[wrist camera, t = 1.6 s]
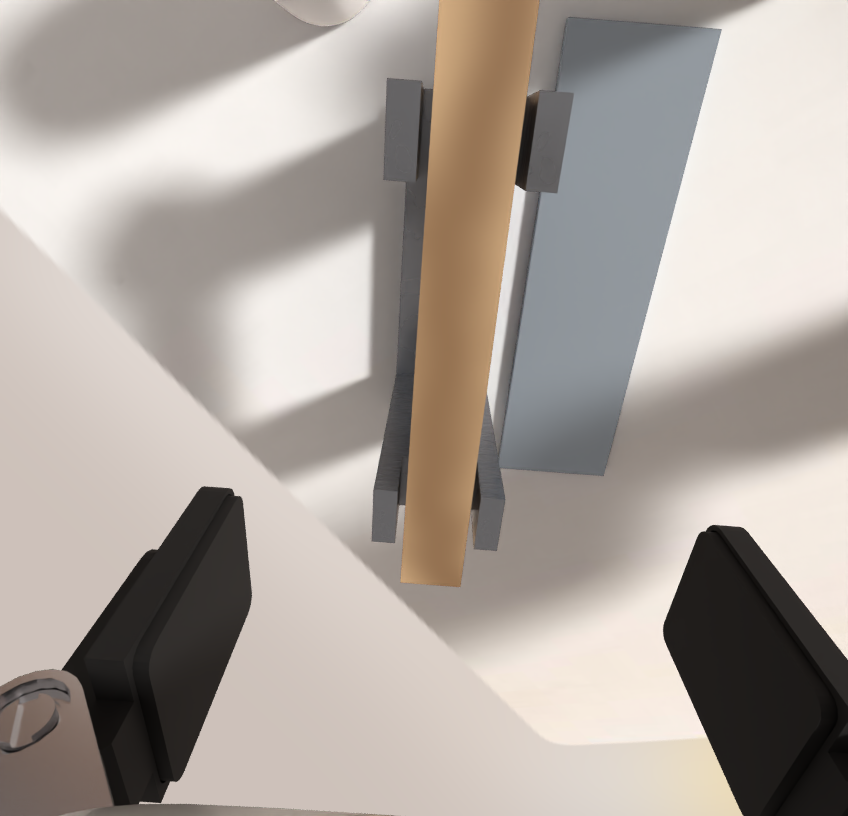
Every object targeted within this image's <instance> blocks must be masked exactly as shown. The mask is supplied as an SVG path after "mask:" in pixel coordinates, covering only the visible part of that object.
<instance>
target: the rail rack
mask: <svg viewBox="0 0 848 816" xmlns="http://www.w3.org/2000/svg"><path fill="white" fill-rule="evenodd" d="M573 98H574V93H570V92H557V91H544V90H539V91H537V92H535V93H533V94H531V95H529V96H527V97H526V105H525V112H524V119H523V127H522V134H521V142H520V149H519V156H518V164H517V171H516V179H515V185H517V186H519V187H520V188H522V189H523V190H525V191H533V192H546V193H557V192H558V186H559V181H560V175H561V169H562V163H563V157H564V151H565V145H566V139H567V133H568V127H569V122H570V116H571V110H572V104H573ZM432 103H433V89H424V86H423V84H422V81H417V80H404V79H391V78H387V96H386V126H385V156H384V180H392V181H405V182H406V196H405V216H404V236H403V256H402V276H401V295H400V315H399V335H398V355H397V374H396V379H395V384H394V389H393V394H392V399H391V404H390V409H389V414H388V419H387V424H386V429H385V434H384V439H383V444H382V449H381V455H380V460H379V465H378V470H377V475H376V480H375V485H374V490H373V520H372V541H374V542H387V543H395V537H396V528H397V520H398V511H399V505H406V492H407V477H408V462H409V447H410V432H411V417H412V402H413V387H414V373H415V358H416V343H417V328H418V313H419V298H420V283H421V268H422V253H423V238H424V223H425V208H426V193H427V178H428V163H429V148H430V133H431V118H432ZM504 505H505V495H504V489H503V484H502V478H501V472H500V466H499V460H498V455H497V449H496V443H495V437H494V431H493V425H492V420H491V414H490V408H489V402H488V396H487V393H486V400H485V408H484V415H483V423H482V430H481V437H480V445H479V452H478V460H477V467H476V474H475V482H474V489H473V497H472V504H471V518H472V532H473V545H474V549H479V550H492V551H497V546H498V540H499V534H500V528H501V522H502V517H503V511H504Z"/></svg>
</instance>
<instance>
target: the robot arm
mask: <svg viewBox="0 0 848 816" xmlns="http://www.w3.org/2000/svg"><path fill="white" fill-rule="evenodd" d="M251 598H252V591H251V580H250V571H249V561H248V550H247V539H246V529H245V519H244V509H243V501H242V498H241V497H240V496H234V492H233V490H232V489H230V488H218V487H205V486H204V487H201V488H200V489H199V491H198V492H197V493H196V495H195V496H194V498H193V499H192V501H191V502H190V504H189V505H188V507H187V508H186V509H185V511H184V512H183V514H182V515H181V517H180V518H179V520H178V521H177V523H176V524H175V526H174V527H173V528H172V530H171V531H170V533H169V534H168V536H167V537H166V539H165V540H164V542H163V543H162V545H161V546H160V547H159V549H158V550H153V549H152V550H150V551H148V552H146V553H145V555H144V556H143V557H142V558H141V559H140V561H139V562H138V563H137V565H136V566H135V567H134V569H133V570H132V572H131V573H130V574H129V576H128V577H127V579H126V580H125V582H124V583H123V584H122V586H121V587H120V589H119V590H118V592H117V593H116V594H115V596H114V597H113V598H112V600H111V601H110V603H109V604H108V605H107V607H106V608H105V610H104V611H103V612H102V614H101V615H100V617H99V618H98V619H97V621H96V622H95V624H94V625H93V626H92V628H91V629H90V631H89V632H88V633H87V635H86V636H85V638H84V639H83V641H82V642H81V643H80V645H79V646H78V648H77V649H76V650H75V652H74V653H73V655H72V656H71V657H70V659H69V660H68V662H67V663H66V665H65V666H64V667H63V669H62V670H55V669H49V670H41V671H35V672H32V673H29V674H26V675H23V676H20V677H17V678H15V679H13V680H12V681H10V682H8V683H6V684H4V685H2V686H0V816H393V815H377V814H361V813H346V812H331V811H315V810H300V809H284V808H262V807H240V806H217V805H197V804H196V805H195V804H139V802H155V803H161V802H162V799H163V797H164V794H165V792H166V790H167V787H168V785H169V783H170V781H175V782H177V781H178V780H179V779H180V778H181V777H182V775H183V773H184V771H185V768H186V766H187V763H188V761H189V758H190V756H191V753H192V751H193V748H194V746H195V743H196V741H197V738H198V736H199V733H200V731H201V729H202V726H203V724H204V721H205V719H206V716H207V714H208V711H209V708H210V706H211V704H212V701H213V699H214V696H215V694H216V691H217V689H218V686H219V684H220V682H221V679H222V677H223V674H224V672H225V669H226V667H227V664H228V662H229V659H230V657H231V654H232V652H233V649H234V647H235V644H236V642H237V639H238V637H239V634H240V632H241V630H242V627H243V625H244V622H245V619H246V617H247V615H248V612H249V609H250V605H251ZM663 635H664V640H665V643H666V645H667V648H668V650H669V652H670V654H671V656H672V659H673V661H674V663H675V665H676V668H677V670H678V672H679V674H680V677H681V679H682V681H683V683H684V686H685V688H686V690H687V692H688V694H689V697H690V699H691V701H692V703H693V706H694V708H695V710H696V712H697V715H698V717H699V719H700V721H701V724H702V726H703V728H704V730H705V732H706V735H707V737H708V739H709V741H710V744H711V746H712V748H713V750H714V752H715V755H716V757H717V759H718V761H719V764H720V766H721V768H722V770H723V773H724V775H725V777H726V779H727V782H728V784H729V786H730V788H731V791H732V793H733V795H734V797H735V800H736V802H737V804H738V806H739V809H740V810H741V812H742V814H743V816H848V660H847V658H846V657H845V656H844V655H843V653H842V652H841V651H840V649H839V648H838V647H837V646H836V644H835V643H834V642H833V640H832V639H831V638H830V637H829V635H828V634H827V633H826V632H825V630H824V629H823V628H822V626H821V625H820V624H819V623H818V621H817V620H816V619H815V617H814V616H813V615H812V614H811V612H810V611H809V610H808V609H807V607H806V606H805V605H804V603H803V602H802V601H801V600H800V598H799V597H798V596H797V594H796V593H795V592H794V591H793V589H792V588H791V587H790V585H789V584H788V583H787V582H786V580H785V579H784V578H783V577H782V575H781V574H780V573H779V571H778V570H777V569H776V568H775V566H774V565H773V564H772V562H771V561H770V560H769V559H768V557H767V556H766V555H765V554H764V552H763V551H762V550H761V548H760V547H759V546H758V545H757V543H756V542H755V541H754V539H753V538H752V537H751V536H750V534H749V533H748V532H747V531H746V530H745V529H744V528H741V527H733V526H720V525H712V526H710V527H709V528H707V530H706V532H705V531H704V532H701V533H700V534H699V535H698V537H697V539H696V542H695V545H694V547H693V550H692V552H691V555H690V558H689V560H688V563H687V565H686V568H685V570H684V573H683V576H682V578H681V581H680V583H679V586H678V589H677V591H676V594H675V596H674V599H673V601H672V604H671V607H670V609H669V612H668V614H667V617H666V620H665V622H664V626H663Z"/></svg>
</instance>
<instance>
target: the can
mask: <svg viewBox="0 0 848 816" xmlns="http://www.w3.org/2000/svg"><path fill="white" fill-rule="evenodd" d="M274 1H275V2H276V3H277V4H279V5H280V6H281V7H283V8H284V9H285V10H286V11H288V12H289V13H290V14H292V15H293V16H295V17H296V18H298V19H300V20H302V21H304V22H307V23H309V24H313V25H317V26H334V25H338V24H341V23H344V22H346V21H348V20H350V19H352V18H353V17H355V16H356V15H357V14H358V13H360V12H361V11H362V10H363V9H364V7H365V6H366V5H367V4H368V2H369V1H370V0H274Z"/></svg>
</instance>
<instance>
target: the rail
mask: <svg viewBox="0 0 848 816" xmlns="http://www.w3.org/2000/svg"><path fill="white" fill-rule="evenodd" d="M539 1H540V0H439V14H438V29H437V44H436V59H435V73H434V88H433V103H432V118H431V133H430V148H429V163H428V178H427V193H426V208H425V223H424V238H423V253H422V268H421V283H420V298H419V313H418V328H417V343H416V358H415V373H414V387H413V402H412V417H411V432H410V447H409V462H408V477H407V492H406V507H405V522H404V537H403V552H402V567H401V582H400V583H413V584H427V585H440V586H453V587H460V585H461V578H462V571H463V563H464V556H465V548H466V541H467V534H468V526H469V519H470V511H471V504H472V497H473V489H474V482H475V474H476V467H477V460H478V452H479V445H480V437H481V430H482V423H483V415H484V408H485V400H486V393H487V386H488V378H489V371H490V363H491V356H492V349H493V341H494V334H495V326H496V319H497V312H498V304H499V297H500V290H501V282H502V275H503V267H504V260H505V253H506V245H507V238H508V230H509V223H510V216H511V208H512V201H513V193H514V186H515V179H516V171H517V164H518V156H519V149H520V142H521V134H522V127H523V119H524V112H525V105H526V97H527V90H528V82H529V75H530V68H531V60H532V53H533V45H534V38H535V31H536V23H537V16H538V8H539Z"/></svg>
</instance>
